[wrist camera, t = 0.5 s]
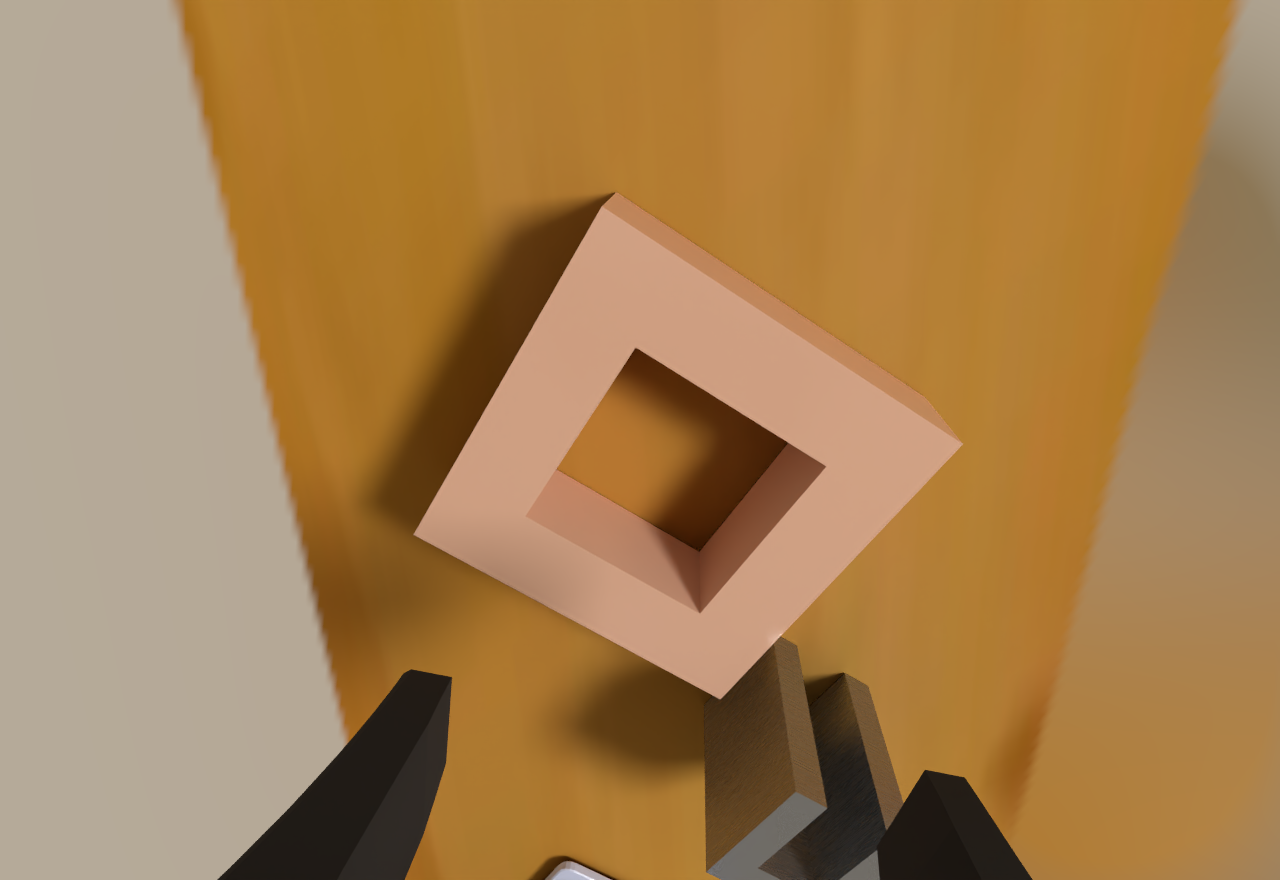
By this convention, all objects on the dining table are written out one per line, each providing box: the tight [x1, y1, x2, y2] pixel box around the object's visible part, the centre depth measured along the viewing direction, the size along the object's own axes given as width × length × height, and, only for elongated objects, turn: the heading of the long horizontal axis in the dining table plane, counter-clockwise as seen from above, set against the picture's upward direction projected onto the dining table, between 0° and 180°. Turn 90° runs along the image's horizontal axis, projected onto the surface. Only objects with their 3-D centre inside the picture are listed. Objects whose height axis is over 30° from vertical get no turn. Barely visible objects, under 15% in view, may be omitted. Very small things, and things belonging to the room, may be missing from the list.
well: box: [414, 192, 962, 699], centre depth 19 cm, size 10×10×3 cm
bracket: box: [704, 637, 903, 880], centre depth 21 cm, size 4×4×6 cm
